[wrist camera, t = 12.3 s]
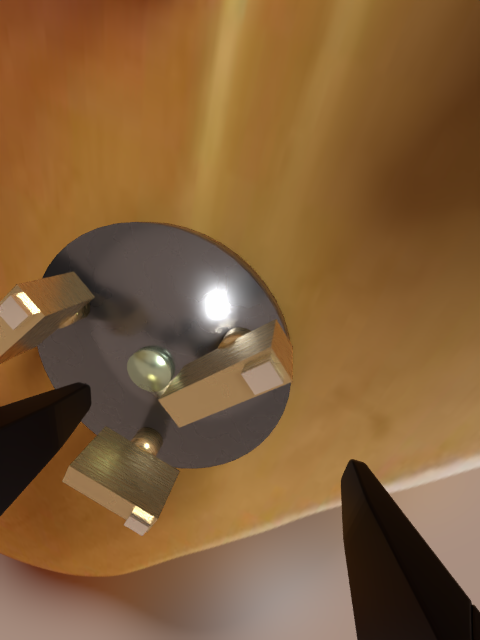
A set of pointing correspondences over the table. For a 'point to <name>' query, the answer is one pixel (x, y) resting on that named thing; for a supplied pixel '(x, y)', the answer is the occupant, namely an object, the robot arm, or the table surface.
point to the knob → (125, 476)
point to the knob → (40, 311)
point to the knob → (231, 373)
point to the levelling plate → (160, 335)
